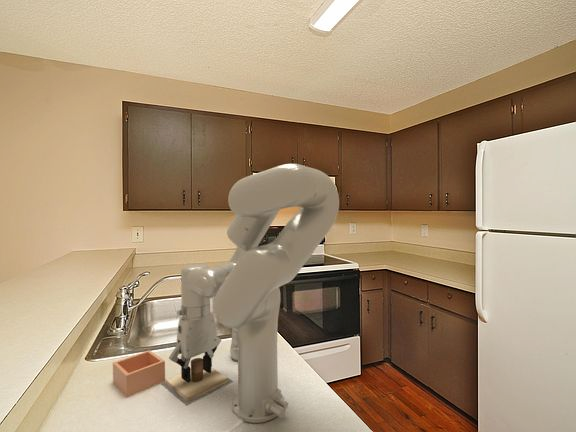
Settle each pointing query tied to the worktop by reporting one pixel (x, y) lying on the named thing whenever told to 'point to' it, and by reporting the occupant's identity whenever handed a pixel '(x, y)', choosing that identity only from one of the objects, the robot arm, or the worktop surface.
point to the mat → (195, 398)
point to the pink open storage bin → (138, 372)
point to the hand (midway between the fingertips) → (197, 375)
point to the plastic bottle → (234, 344)
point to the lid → (197, 381)
